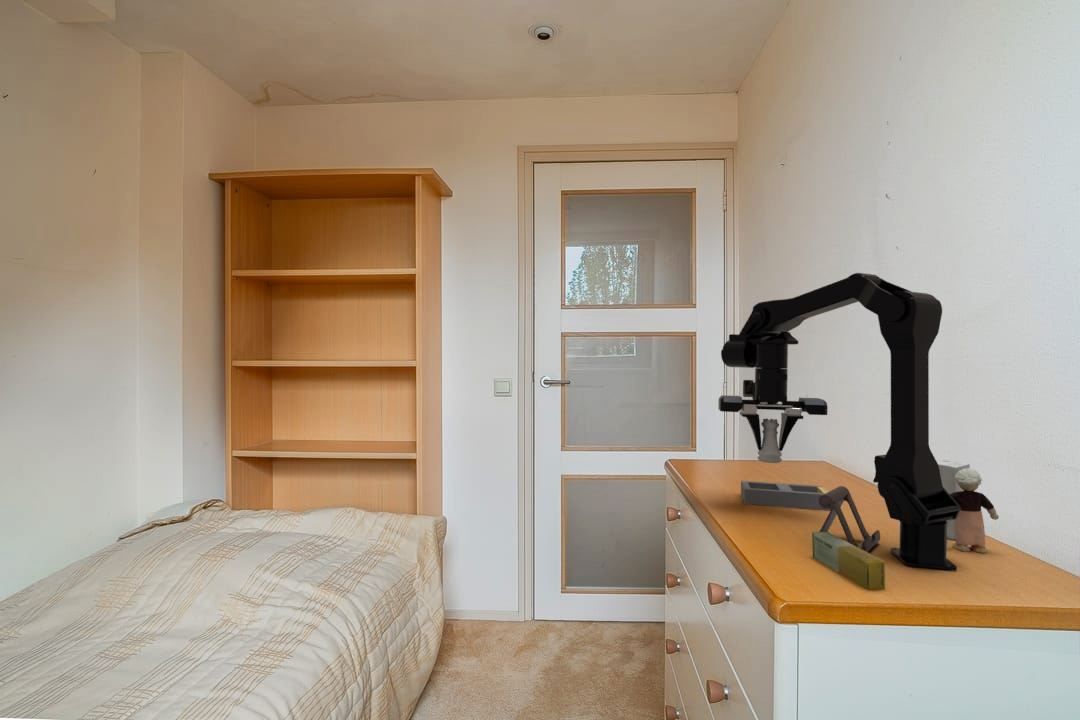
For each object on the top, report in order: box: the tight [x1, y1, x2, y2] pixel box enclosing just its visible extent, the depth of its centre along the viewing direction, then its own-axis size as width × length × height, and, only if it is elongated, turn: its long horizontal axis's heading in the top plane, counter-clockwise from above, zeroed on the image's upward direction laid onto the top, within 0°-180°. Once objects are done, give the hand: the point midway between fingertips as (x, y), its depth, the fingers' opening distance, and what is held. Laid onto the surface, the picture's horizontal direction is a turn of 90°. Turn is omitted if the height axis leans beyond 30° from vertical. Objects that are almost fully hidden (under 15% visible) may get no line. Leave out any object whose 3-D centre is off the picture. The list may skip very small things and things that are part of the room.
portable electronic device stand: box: [819, 486, 881, 553], centre depth 89 cm, size 9×8×8 cm
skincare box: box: [936, 460, 971, 541], centre depth 95 cm, size 6×4×12 cm
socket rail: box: [740, 480, 831, 511], centre depth 115 cm, size 8×16×3 cm, turn 76°
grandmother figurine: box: [950, 468, 1000, 554], centre depth 88 cm, size 8×4×13 cm, turn 84°
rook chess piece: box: [757, 418, 783, 464], centre depth 107 cm, size 4×4×8 cm
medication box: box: [811, 531, 886, 591], centre depth 78 cm, size 12×3×4 cm, turn 7°
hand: (769, 450), depth 107 cm, fingers closed on rook chess piece, 3 cm apart
